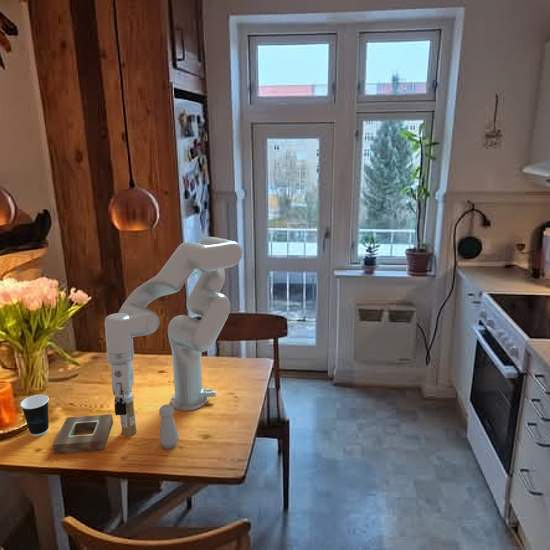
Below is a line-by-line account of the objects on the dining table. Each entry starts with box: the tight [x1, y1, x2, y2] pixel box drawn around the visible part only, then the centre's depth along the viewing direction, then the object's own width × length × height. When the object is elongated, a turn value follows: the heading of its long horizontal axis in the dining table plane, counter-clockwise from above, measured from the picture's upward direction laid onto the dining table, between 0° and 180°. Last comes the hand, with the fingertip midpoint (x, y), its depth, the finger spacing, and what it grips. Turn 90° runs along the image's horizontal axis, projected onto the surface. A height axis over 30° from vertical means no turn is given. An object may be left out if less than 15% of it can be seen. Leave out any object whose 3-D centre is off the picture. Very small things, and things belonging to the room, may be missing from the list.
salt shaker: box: [158, 404, 179, 450], centre depth 142 cm, size 6×6×13 cm
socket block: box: [52, 413, 114, 455], centre depth 146 cm, size 14×14×3 cm
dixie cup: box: [19, 394, 50, 438], centre depth 148 cm, size 8×8×11 cm
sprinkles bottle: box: [119, 391, 137, 437], centre depth 147 cm, size 5×5×13 cm
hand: (123, 405), depth 146 cm, fingers open, 9 cm apart
